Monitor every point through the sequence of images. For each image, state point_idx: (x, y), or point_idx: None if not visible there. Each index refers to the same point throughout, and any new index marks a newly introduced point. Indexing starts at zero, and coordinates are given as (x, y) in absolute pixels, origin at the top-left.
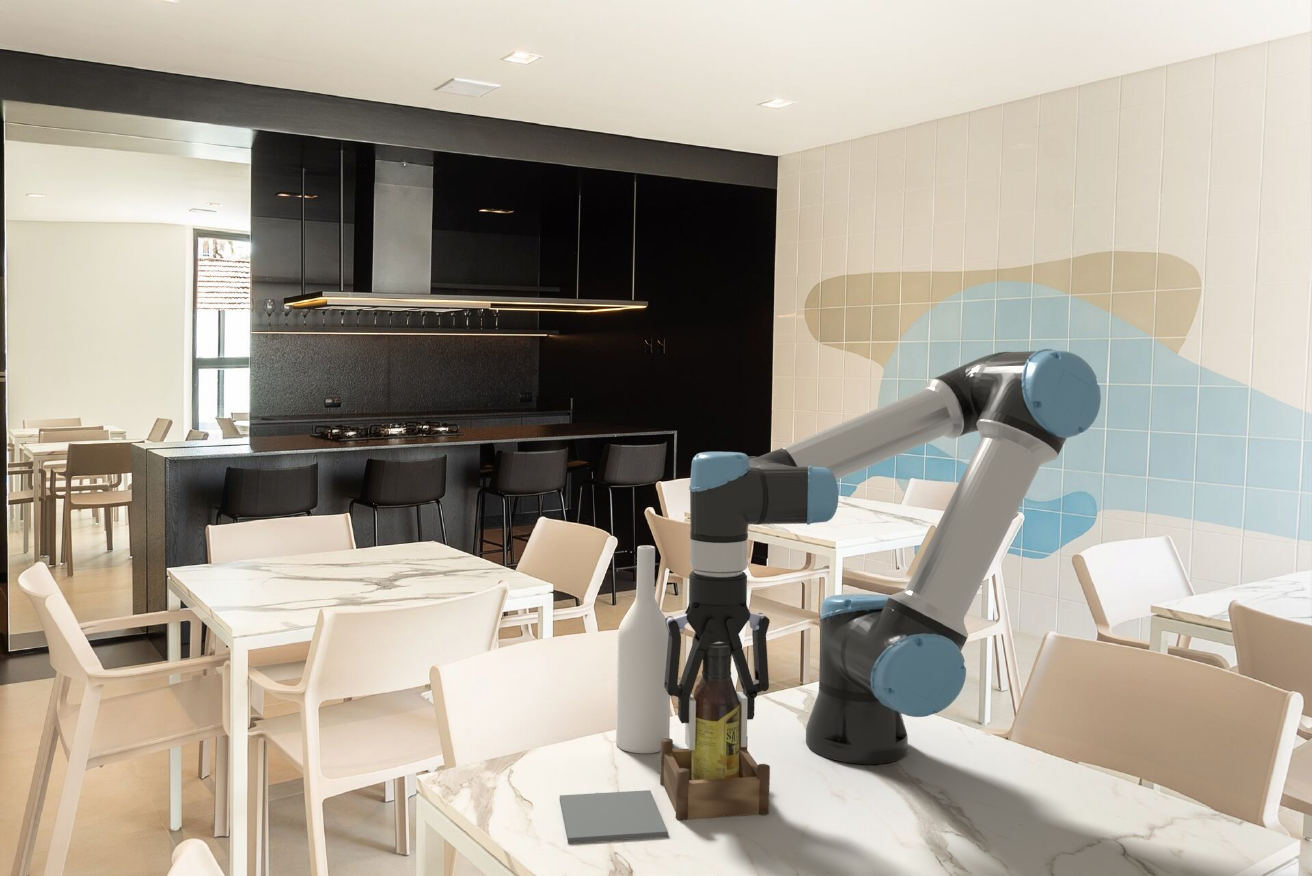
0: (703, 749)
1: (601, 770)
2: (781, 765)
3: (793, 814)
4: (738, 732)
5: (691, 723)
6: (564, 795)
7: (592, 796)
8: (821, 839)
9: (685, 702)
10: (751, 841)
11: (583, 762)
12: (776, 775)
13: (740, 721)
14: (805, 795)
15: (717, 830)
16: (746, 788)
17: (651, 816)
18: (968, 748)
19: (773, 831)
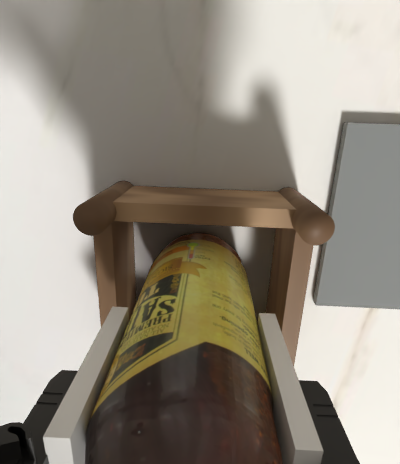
0: (241, 300)
1: (363, 400)
2: (44, 366)
3: (65, 174)
4: (126, 331)
5: (288, 369)
6: None
7: None
8: (31, 49)
9: (332, 453)
10: (180, 68)
11: (382, 431)
12: (62, 333)
13: (107, 366)
14: (25, 248)
15: (235, 131)
16: (149, 199)
17: (354, 197)
18: None
19: (123, 106)
